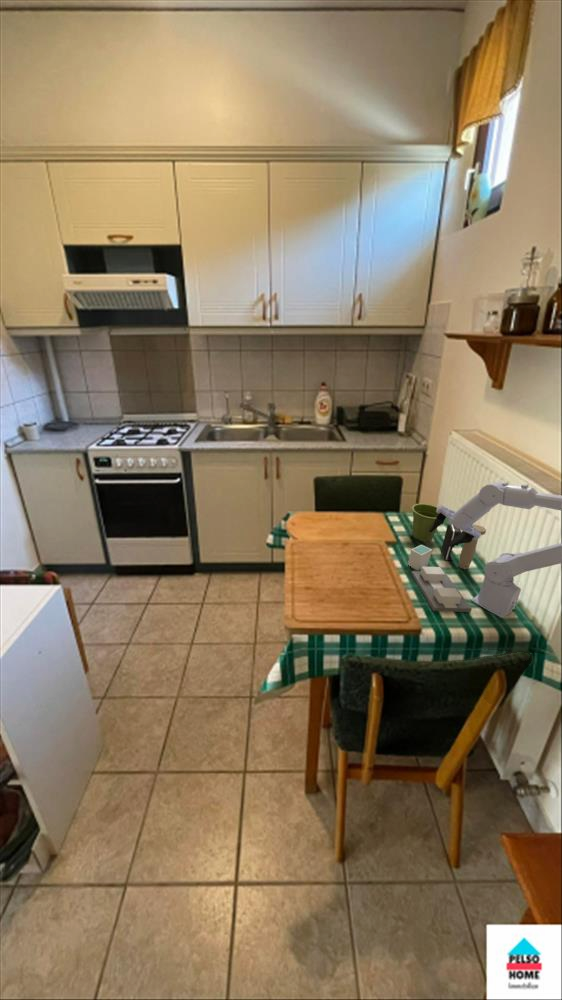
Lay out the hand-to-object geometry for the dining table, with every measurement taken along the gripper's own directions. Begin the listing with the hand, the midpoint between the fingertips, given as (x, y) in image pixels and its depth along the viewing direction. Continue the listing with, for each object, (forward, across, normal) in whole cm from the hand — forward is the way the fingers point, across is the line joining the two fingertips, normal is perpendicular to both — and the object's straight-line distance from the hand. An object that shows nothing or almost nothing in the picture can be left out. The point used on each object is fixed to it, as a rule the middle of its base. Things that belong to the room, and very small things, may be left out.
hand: (440, 537), depth 132 cm
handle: (+9, -15, -6) cm, 18 cm away
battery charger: (+12, -11, -10) cm, 19 cm away
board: (+7, -8, +13) cm, 17 cm away
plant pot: (+19, -3, -19) cm, 27 cm away
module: (+13, -2, +2) cm, 14 cm away
